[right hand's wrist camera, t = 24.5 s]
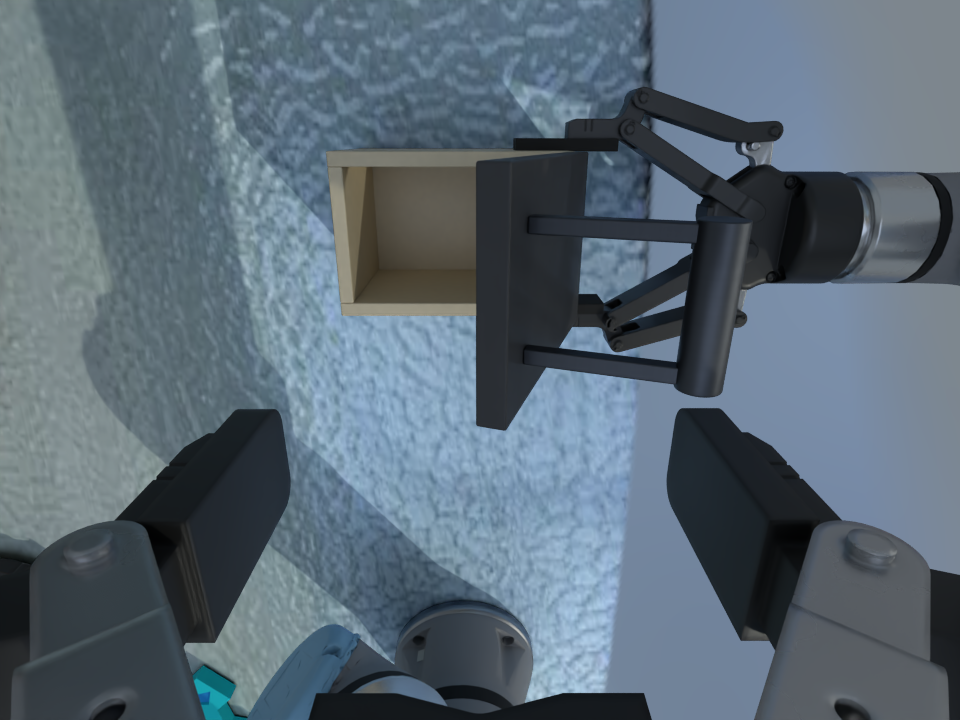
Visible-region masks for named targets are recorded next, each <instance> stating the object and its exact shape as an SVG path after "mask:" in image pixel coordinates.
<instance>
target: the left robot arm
mask: <svg viewBox="0 0 960 720" xmlns="http://www.w3.org/2000/svg"><path fill="white" fill-rule="evenodd" d="M644 115H647V116H650V117H652V118H655V119H658V120H661V121H664V122H667V123H670V124H673V125H676V126H679V127H682V128H685V129H688V130H690V131H693V132H696V133H699V134H702V135H705V136H708V137H711V138H714V139H717V140H720V141H724V142H736V151H737V153H738V154H740V155H744V156H746V157H747V158H748V159H749V166H747V167H746V168H744V169H743V170H741V171H740V172H738V173H737V174H735V175H734V176H732V177H731V178H729V179H728V180H724V179H723V178H721V177H720V176H718V175H716V174H714V173H712V172H710V171H709V170H707V169H706V168H704V167H703V166H701V165H700V164H698V163H697V162H696V161H694V160H693V159H691V158H690V157H688V156H687V155H685V154H684V153H682V152H681V151H679V150H678V149H677V148H675V147H674V146H672V145H671V144H669V143H668V142H666V141H665V140H663V139H662V138H660V137H659V136H658V135H656V134H655V133H653V132H652V131H650V130H649V129H647V128H646V127H644V126H643V125H642V124H640V123H641V121H642V119H643V116H644ZM782 133H783V126H782V124H781V123H780V122H778V121H766V122H749V123H748V122H745V121H742V120H739V119H736V118H734V117H731V116H728V115H725V114H722V113H719V112H716V111H714V110H711V109H708V108H705V107H702V106H699V105H696V104H693V103H691V102H688V101H685V100H682V99H679V98H676V97H673V96H670V95H667V94H665V93H662V92H659V91H656V90H653V89H650V88H647V87H642V88H638V89H635V90H632V91H630V92H629V93H627V95H626V96H625V100H624V105H623V107H622V109H621V112H620V113H619V115H618V116H617V117H615V118H613V119H574V120H571V121H569V122H566V125H565V138H514V140H513V150H515V151H618V142H619V141H621V142H622V143H624V144H625V145H627V146H628V147H630V148H631V149H633V150H634V151H635V152H637V153H638V154H640V155H641V156H643V157H644V158H646V159H647V160H649V161H650V162H652V163H653V164H655V165H656V166H658V167H659V168H661V169H662V170H664V171H665V172H667V173H668V174H670V175H671V176H673V177H674V178H676V179H677V180H679V181H680V182H682V183H683V184H685V185H686V186H687V187H688V188H689V189H691V190H692V191H693V192H695V193H696V194H698V195H699V196H701V197H702V198H703V199H702V201H701V203H700V204H697V209H696V221H697V219H698V218H699V217H704V216H730V217H740V218H746V219H750V220H752V221H753V225H752V230H751V236H750V241H749V247H748V252H747V258H746V263H745V269H744V274H743V280H742V285H741V291H740V297H739V302H738V308H737V313H736V319H735V324H734V328H738V327H742V326H743V325H744V324H745V323H746V321H747V316H746V314H745V313H744V312H742V308H743V304H744V300H745V296H746V292H747V290H748V289H751V288H753V287H755V286H757V285H760V284H764V283H825V282H831V283H841V284H843V283H939V284H953V285H959V286H960V172H957V173H920V172H849V173H846V174H844V173H841V172H782V171H779V170H777V169H776V168H774V167H773V166H771V158H772V150H773V143H774V141H776V140H778V139H779V138H780V137H781V135H782ZM691 249H693V244H691ZM691 258H692V253H691V254H690V255H688V256H686V257H684V258H682V259H680V260H679V261H678V263H677V264H676V265H674V266H672V267H670V268H668V269H667V270H665V271H663V272H661V273H659V274H657V275H655V276H654V277H652V278H650V279H648V280H646V281H644V282H643V283H641V284H639V285H637V286H635V287H633V288H631V289H630V290H628V291H626V292H624V293H622V294H620V295H618V296H617V297H615V298H613V299H611V300H609V301H607V302H606V303H603V302H602V301H601V299H600V298H599V296H598V295H597V294H579V295H578V310H577V320H576V322H575V323H574V325H573V326H572V327H599V328H602V330H603V336H604V338H605V340H606V341H607V343H608V345H609V346H610V348H611V349H612V350H613V351H614V352H622V351H625V350H629V349H633V348H636V347H640V346H644V345H647V344H651V343H655V342H658V341H662V340H666V339H669V338H673V337H677V336H680V335H681V328H682V321H683V314H684V307H685V306H682V307H679V308H675V309H671V310H668V311H664V312H661V313H657V314H653V315H650V316H646V317H642V318H639V319H635V320H632V321H630V320H631V319H633V318H635V317H637V316H639V315H641V314H643V313H645V312H647V311H648V310H650V309H652V308H654V307H656V306H658V305H660V304H662V303H664V302H665V301H667V300H669V299H671V298H673V297H675V296H677V295H679V294H681V293H682V292H684V291H686V290H687V286H688V279H689V272H690V265H691ZM532 670H533V654H532V645H531V641H530V638H529V635H528V633H527V631H526V630H525V628H524V627H523V626H522V624H521V623H520V622H519V621H518V620H517V619H515V618H514V617H513V616H512V615H510V614H509V613H507V612H505V611H504V610H502V609H500V608H497V607H495V606H492V605H489V604H485V603H480V602H473V601H454V602H447V603H442V604H439V605H436V606H433V607H430V608H428V609H426V610H424V611H422V612H421V613H419V614H418V615H416V616H415V617H414V618H412V619H411V620H410V621H409V622H408V623H407V624H406V626H405V627H404V629H403V630H402V632H401V634H400V636H399V639H398V643H397V649H396V655H395V665H394V664H392V663H391V662H389V661H388V660H386V659H385V658H384V657H382V656H381V655H380V654H378V653H377V652H376V651H374V650H373V649H372V648H371V647H369V646H368V645H367V644H365V643H364V642H363V641H362V640H360V635H359V634H353V633H351V632H350V631H349V630H347V629H346V628H344V627H342V626H340V625H337V624H332V625H327V626H324V627H322V628H320V629H318V630H317V631H315V632H314V633H313V634H311V635H310V636H309V637H308V638H307V639H306V640H305V641H304V642H303V643H301V644H300V645H299V646H298V647H297V648H296V649H295V650H294V652H293V653H292V654H291V655H290V656H289V657H288V658H287V660H286V661H285V662H284V663H283V665H282V666H281V667H280V668H279V670H278V671H277V672H276V674H275V675H274V676H273V678H272V679H271V680H270V682H269V683H268V685H267V686H266V688H265V689H264V691H263V692H262V694H261V695H260V697H259V699H258V700H257V702H256V704H255V705H254V707H253V709H252V710H251V712H250V714H249V716H248V718H247V720H308V719H309V716H310V712H311V709H312V705H313V702H314V699H315V695H316V693H398V694H402V695H406V696H410V697H414V698H417V699H421V700H425V701H429V702H433V703H437V704H440V705H444V706H448V707H452V708H456V709H460V710H464V711H467V712H472V713H488V712H493V711H496V710H500V709H504V708H508V707H512V706H516V705H519V704H523V703H525V699H526V695H527V692H528V688H529V684H530V680H531V676H532Z"/></svg>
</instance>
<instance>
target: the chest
mask: <svg viewBox="0 0 960 720" xmlns="http://www.w3.org/2000/svg"><path fill="white" fill-rule="evenodd" d="M561 152H574V151H515V150H513V148H359V149H349V150H337V151H326V156H327V166H328V176H329V187H330V197H331V208H332V218H333V229H334V239H335V250H336V260H337V270H338V281H339V291H340V302H341V312H342V315H343V316H476V162H477V161H481V160H491V159H501V158H511V157H521V156H531V155H541V154H551V153H561Z"/></svg>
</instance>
